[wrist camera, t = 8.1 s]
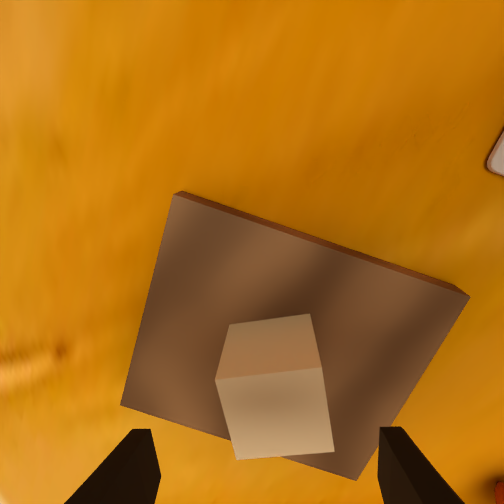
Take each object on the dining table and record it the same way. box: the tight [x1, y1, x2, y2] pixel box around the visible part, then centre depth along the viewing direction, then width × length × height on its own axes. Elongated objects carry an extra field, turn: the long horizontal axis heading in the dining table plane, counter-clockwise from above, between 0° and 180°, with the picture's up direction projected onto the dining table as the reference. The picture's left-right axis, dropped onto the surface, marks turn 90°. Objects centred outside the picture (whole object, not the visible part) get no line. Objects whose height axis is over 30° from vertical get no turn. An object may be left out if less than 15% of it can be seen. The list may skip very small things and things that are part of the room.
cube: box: [215, 314, 335, 460], centre depth 16 cm, size 4×4×4 cm
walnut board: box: [120, 191, 470, 481], centre depth 19 cm, size 16×14×2 cm
